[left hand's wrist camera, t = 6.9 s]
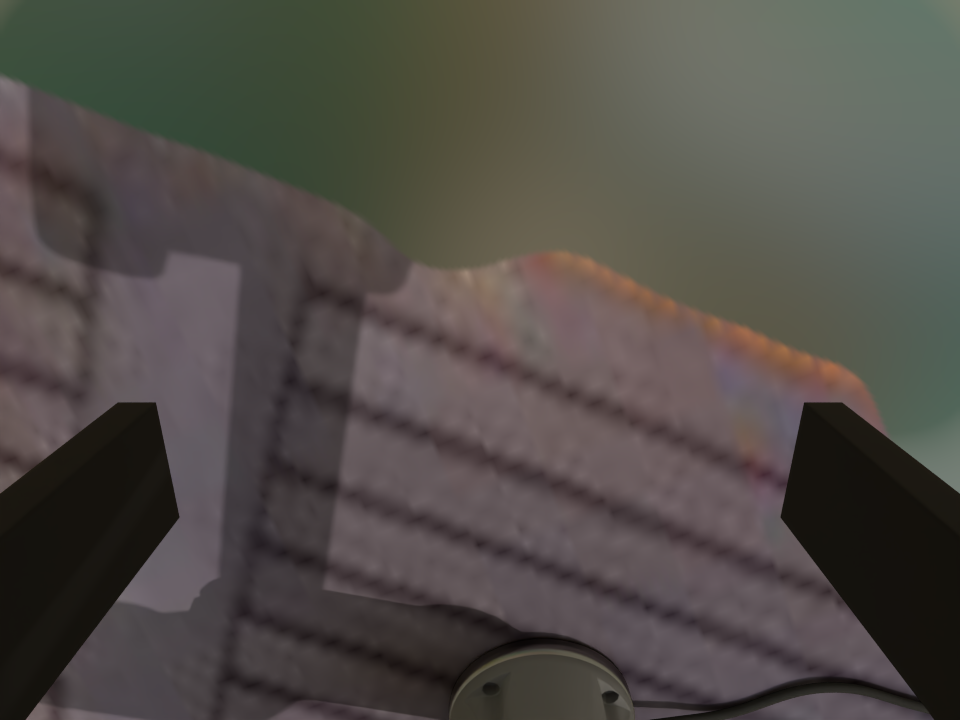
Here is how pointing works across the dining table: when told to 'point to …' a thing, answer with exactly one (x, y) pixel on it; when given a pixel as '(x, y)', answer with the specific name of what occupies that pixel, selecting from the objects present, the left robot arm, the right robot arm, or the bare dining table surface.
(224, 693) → the dining table surface
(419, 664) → the dining table surface
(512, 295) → the dining table surface
